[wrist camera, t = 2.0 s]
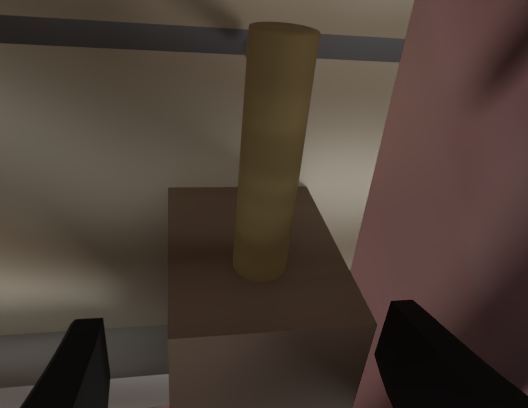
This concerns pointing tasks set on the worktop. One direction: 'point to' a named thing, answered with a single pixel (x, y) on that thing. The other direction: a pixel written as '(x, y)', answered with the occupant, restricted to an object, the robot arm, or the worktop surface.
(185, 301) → the brown handled block
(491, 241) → the worktop surface
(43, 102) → the board
